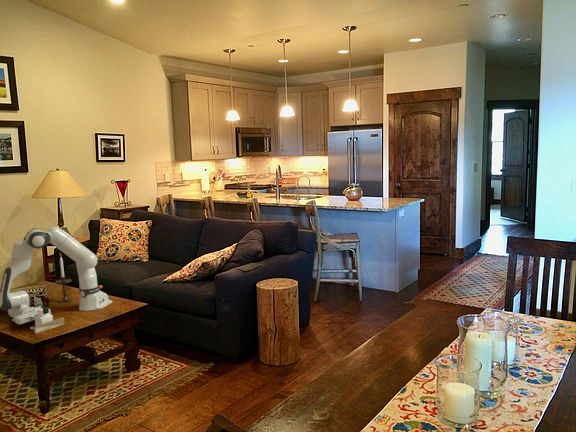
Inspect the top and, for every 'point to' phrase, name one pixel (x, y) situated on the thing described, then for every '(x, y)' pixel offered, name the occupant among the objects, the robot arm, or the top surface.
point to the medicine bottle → (43, 316)
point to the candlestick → (63, 283)
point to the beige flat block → (48, 325)
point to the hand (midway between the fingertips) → (40, 318)
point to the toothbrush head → (37, 302)
